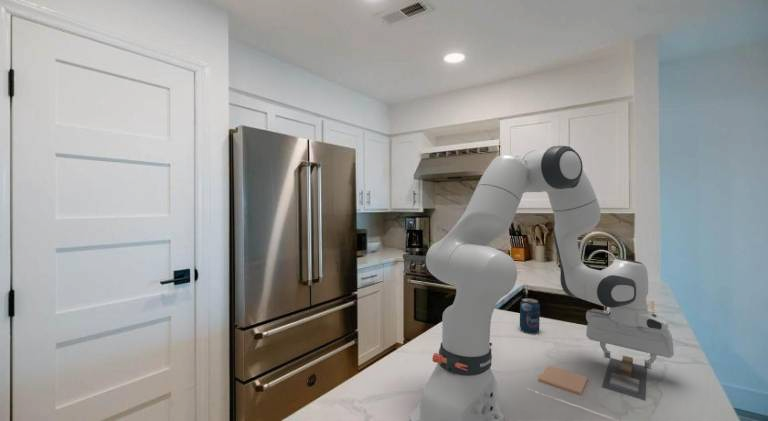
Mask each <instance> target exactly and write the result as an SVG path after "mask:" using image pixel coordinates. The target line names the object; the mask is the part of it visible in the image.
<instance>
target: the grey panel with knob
mask: <svg viewBox="0 0 768 421" xmlns="http://www.w3.org/2000/svg"><path fill="white" fill-rule="evenodd" d="M621 361H622V363H621V368H620V375H619V374H615V373H612V376H611V379H610V386H612V387H615V388H618V389H622V390H625V391H629V392H632V393H635V394H638V390H639V380H637V379H634V378H631V375H632V368H633V364H634V362H633V361H634V358H633V357H631V356H627V355H622V359H621Z"/></svg>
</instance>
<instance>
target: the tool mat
mask: <svg viewBox="0 0 768 421" xmlns="http://www.w3.org/2000/svg"><path fill="white" fill-rule="evenodd" d="M621 363H622V359H621V360H620V359H616V358H613V357H610V359H609V362H608V366H607V368H606V372H605V374H604V378H603V381H602V385H601V388H602V389H606V390H609V391H612V392H616V393H620V394H623V395H626V396H629V397H632V398H636V399H638V400H642V401H646V397H647V396H646V394H647V379H648V378H647V376H648V375H647V374H648V368H644V365H640V364H636V363H633V368H632V375H631V378H634V379H637V380H639V390H638V394H635V393H632V392H629V391H625V390H622V389H618V388H615V387H612V386H610V379H611V376H612V373H615V374H619V375H620V368H621Z"/></svg>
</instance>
